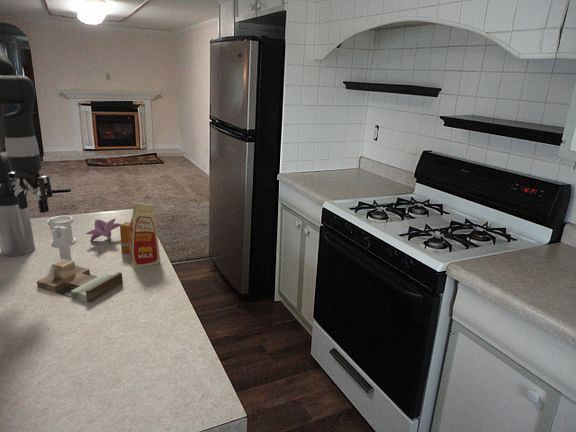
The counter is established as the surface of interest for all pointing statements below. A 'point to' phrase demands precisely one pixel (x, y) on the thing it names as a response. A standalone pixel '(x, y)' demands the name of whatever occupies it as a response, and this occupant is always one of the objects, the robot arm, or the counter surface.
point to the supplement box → (125, 237)
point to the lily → (103, 229)
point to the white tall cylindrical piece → (62, 235)
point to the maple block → (64, 269)
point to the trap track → (82, 284)
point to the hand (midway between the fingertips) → (34, 210)
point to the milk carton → (143, 236)
